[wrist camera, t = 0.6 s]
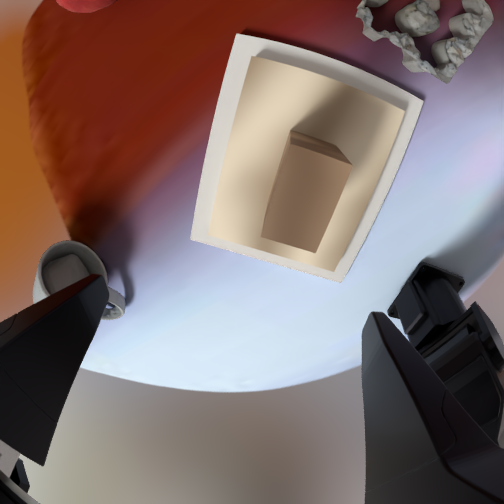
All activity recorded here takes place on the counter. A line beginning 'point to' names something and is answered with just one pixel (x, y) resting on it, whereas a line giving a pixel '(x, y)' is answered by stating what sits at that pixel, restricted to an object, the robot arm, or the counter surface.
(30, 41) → the counter surface
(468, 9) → the grey jagged ring sculpture
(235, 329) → the counter surface
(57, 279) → the ceramic mug
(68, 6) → the onion
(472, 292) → the counter surface
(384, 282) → the counter surface
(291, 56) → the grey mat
